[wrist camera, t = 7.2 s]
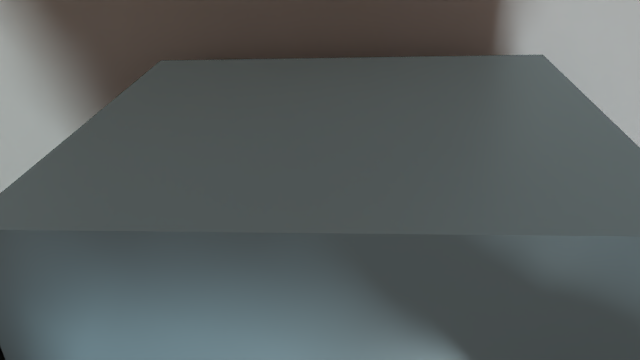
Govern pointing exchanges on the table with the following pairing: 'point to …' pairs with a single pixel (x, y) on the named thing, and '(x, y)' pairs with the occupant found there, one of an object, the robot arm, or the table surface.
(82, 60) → the table surface
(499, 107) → the smooth grey cuboid
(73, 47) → the table surface
